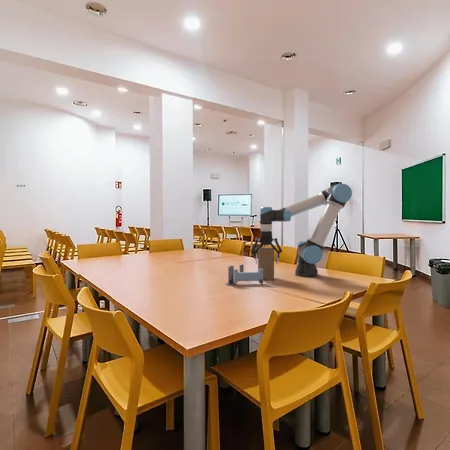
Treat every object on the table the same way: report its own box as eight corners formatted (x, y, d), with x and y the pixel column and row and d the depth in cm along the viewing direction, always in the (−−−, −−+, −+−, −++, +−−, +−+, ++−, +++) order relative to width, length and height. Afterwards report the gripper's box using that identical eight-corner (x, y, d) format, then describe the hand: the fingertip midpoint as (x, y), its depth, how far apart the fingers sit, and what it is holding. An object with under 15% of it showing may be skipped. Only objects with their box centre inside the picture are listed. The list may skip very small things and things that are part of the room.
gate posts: (246, 278, 204) (246, 261, 203) (233, 285, 182) (233, 267, 182) (238, 277, 206) (238, 260, 205) (224, 284, 184) (224, 266, 184)
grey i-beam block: (262, 282, 188) (262, 268, 188) (263, 283, 185) (263, 269, 185) (234, 282, 187) (234, 268, 187) (234, 284, 184) (234, 269, 184)
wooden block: (273, 280, 196) (273, 249, 195) (257, 280, 197) (257, 248, 197) (274, 277, 205) (274, 247, 205) (258, 276, 207) (259, 247, 206)
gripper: (283, 230, 205) (284, 262, 205) (246, 230, 203) (246, 263, 204) (286, 230, 197) (286, 264, 198) (247, 231, 196) (248, 264, 196)
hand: (266, 263), depth 201 cm, fingers open, 13 cm apart
